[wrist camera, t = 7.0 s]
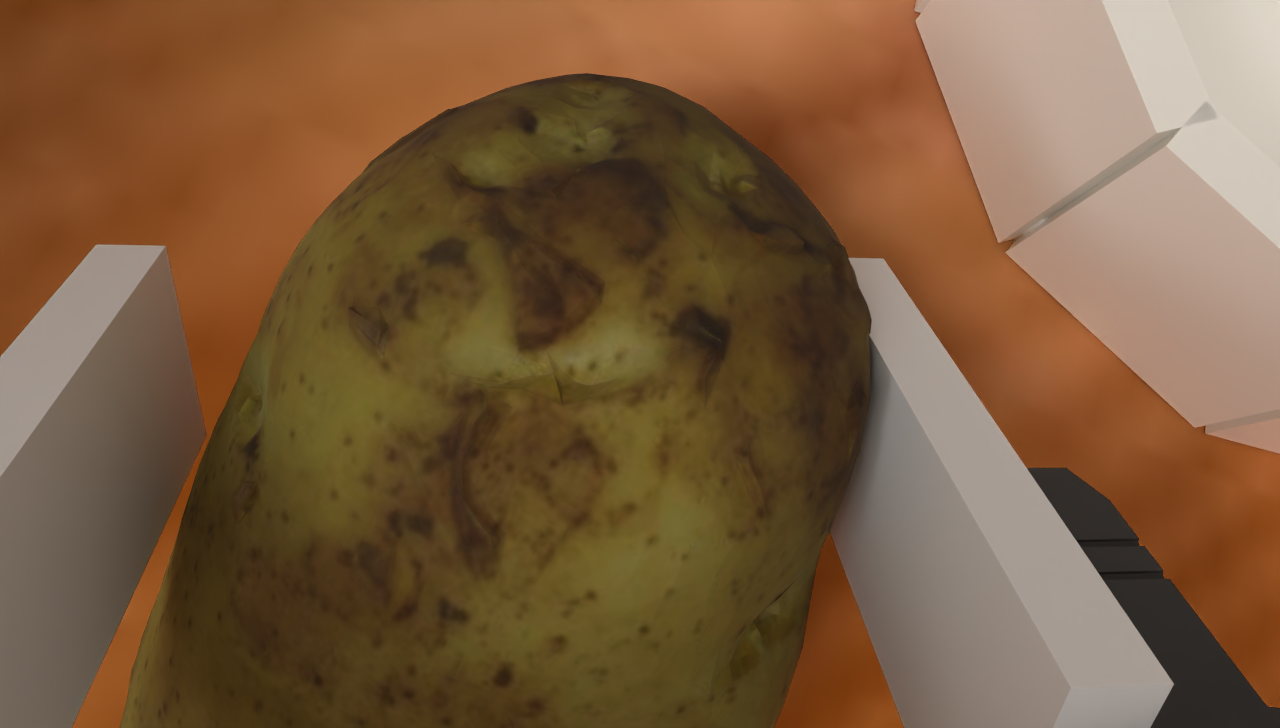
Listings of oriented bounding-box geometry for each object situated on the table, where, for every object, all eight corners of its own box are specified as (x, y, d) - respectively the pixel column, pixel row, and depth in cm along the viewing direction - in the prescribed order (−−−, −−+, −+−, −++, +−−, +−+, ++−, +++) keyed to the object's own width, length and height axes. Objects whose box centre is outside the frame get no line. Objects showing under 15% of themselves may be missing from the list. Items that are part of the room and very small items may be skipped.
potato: (-76, 783, 14) (-846, 1041, 6) (534, 172, 17) (549, -177, 9) (357, 1195, 13) (132, 2049, 6) (899, 487, 16) (1239, 399, 9)
